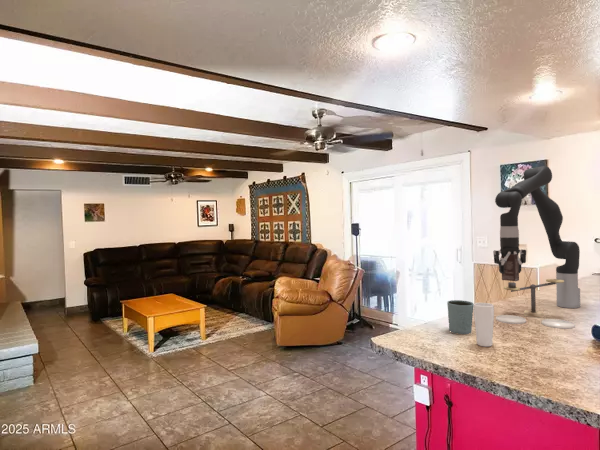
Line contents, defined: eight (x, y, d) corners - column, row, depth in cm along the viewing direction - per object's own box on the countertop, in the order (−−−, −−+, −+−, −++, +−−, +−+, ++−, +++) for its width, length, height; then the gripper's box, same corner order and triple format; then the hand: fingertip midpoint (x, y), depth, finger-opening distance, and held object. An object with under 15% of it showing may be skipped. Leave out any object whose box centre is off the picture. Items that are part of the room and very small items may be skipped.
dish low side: (516, 316, 185) (516, 314, 185) (531, 323, 173) (531, 321, 173) (490, 317, 185) (490, 315, 185) (504, 324, 173) (504, 322, 173)
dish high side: (562, 320, 176) (562, 318, 176) (581, 328, 164) (581, 325, 164) (535, 321, 176) (535, 319, 176) (553, 329, 164) (553, 326, 164)
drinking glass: (493, 342, 149) (492, 302, 148) (495, 348, 142) (495, 306, 142) (473, 341, 151) (472, 302, 151) (475, 347, 144) (474, 305, 144)
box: (519, 280, 178) (519, 253, 178) (515, 281, 175) (514, 254, 175) (505, 279, 183) (505, 253, 183) (501, 280, 180) (500, 253, 180)
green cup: (447, 327, 171) (446, 299, 171) (472, 328, 168) (472, 300, 168) (448, 334, 161) (447, 304, 161) (475, 335, 158) (475, 305, 158)
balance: (564, 316, 184) (563, 279, 183) (565, 319, 178) (564, 281, 177) (504, 311, 196) (504, 276, 196) (504, 314, 190) (503, 278, 190)
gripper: (520, 235, 183) (521, 271, 183) (489, 236, 182) (490, 272, 182) (530, 236, 175) (530, 273, 175) (497, 237, 175) (498, 274, 175)
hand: (510, 273), depth 179 cm, fingers closed on box, 6 cm apart
